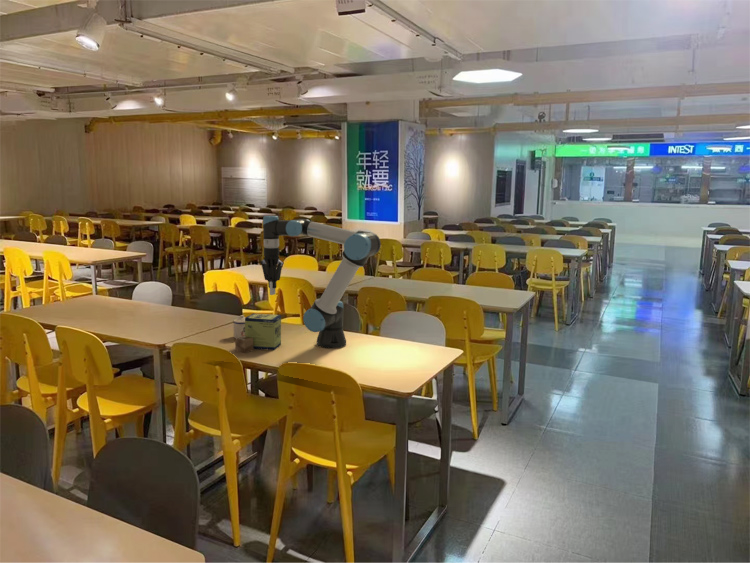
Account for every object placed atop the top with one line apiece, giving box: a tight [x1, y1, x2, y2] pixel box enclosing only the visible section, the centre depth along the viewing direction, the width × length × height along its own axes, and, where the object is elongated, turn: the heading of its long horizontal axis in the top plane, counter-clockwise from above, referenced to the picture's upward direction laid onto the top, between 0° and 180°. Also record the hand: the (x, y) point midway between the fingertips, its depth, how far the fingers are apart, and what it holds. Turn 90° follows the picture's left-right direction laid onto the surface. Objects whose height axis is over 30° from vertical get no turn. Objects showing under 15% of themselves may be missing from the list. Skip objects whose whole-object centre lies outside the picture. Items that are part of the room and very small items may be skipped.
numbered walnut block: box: [234, 337, 254, 354], centre depth 276 cm, size 6×6×6 cm
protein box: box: [245, 313, 282, 351], centre depth 283 cm, size 10×16×16 cm
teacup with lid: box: [232, 314, 246, 339], centre depth 301 cm, size 12×9×12 cm
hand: (272, 294), depth 284 cm, fingers closed
